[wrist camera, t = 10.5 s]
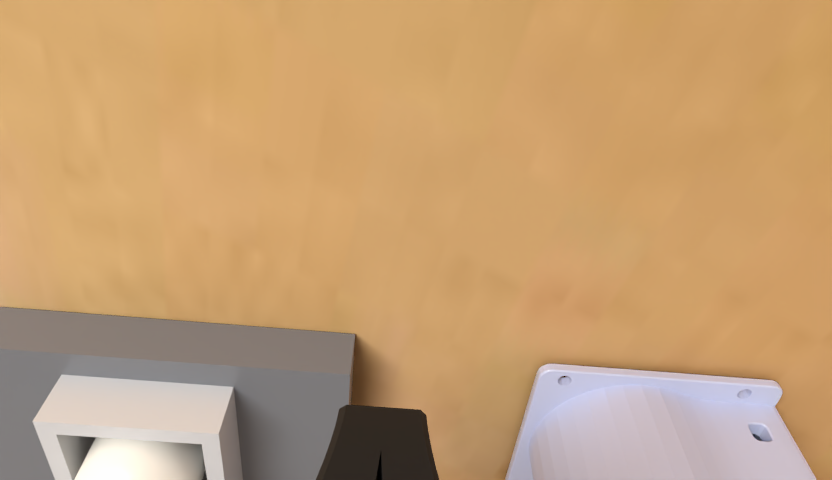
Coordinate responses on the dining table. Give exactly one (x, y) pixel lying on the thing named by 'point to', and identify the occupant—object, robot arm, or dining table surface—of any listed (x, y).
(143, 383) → the panel
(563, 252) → the dining table surface
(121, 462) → the knob
